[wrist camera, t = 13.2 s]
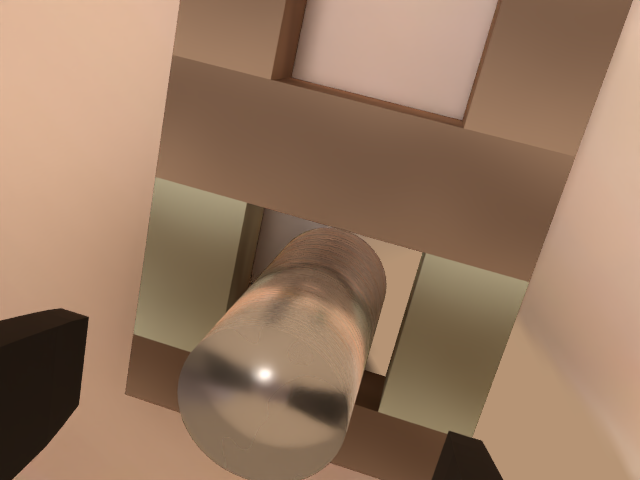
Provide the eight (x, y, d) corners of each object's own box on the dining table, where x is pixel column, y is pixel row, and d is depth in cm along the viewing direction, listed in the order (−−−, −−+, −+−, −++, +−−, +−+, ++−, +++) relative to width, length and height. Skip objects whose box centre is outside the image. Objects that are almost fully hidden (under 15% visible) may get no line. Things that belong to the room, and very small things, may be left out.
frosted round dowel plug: (370, 348, 18) (326, 505, 12) (265, 316, 19) (166, 452, 12) (399, 245, 17) (366, 357, 11) (286, 214, 18) (191, 303, 11)
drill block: (448, 458, 19) (448, 502, 17) (155, 363, 20) (124, 394, 18) (667, -155, 14) (702, -190, 12) (248, -232, 15) (218, -275, 13)
